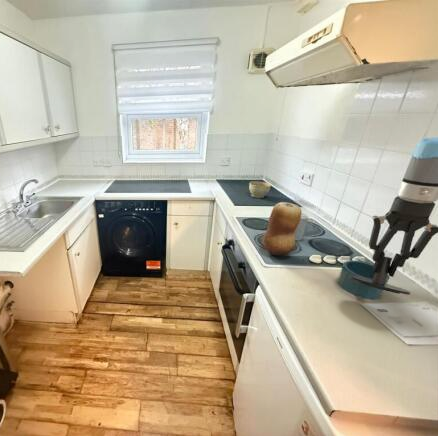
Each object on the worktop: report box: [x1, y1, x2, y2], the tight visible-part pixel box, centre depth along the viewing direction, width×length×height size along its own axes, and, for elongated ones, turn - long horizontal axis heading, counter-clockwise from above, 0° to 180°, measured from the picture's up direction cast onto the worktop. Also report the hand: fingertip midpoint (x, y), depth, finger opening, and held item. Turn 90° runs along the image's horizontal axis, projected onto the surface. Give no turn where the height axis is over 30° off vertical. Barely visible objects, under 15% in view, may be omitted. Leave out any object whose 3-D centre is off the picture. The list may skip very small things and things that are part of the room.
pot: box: [337, 259, 390, 300], centre depth 88 cm, size 13×18×8 cm
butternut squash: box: [262, 201, 303, 256], centre depth 109 cm, size 14×13×25 cm
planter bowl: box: [248, 181, 272, 199], centre depth 194 cm, size 16×16×11 cm
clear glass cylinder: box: [294, 212, 310, 241], centre depth 128 cm, size 10×10×12 cm
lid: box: [350, 255, 411, 296], centre depth 73 cm, size 14×14×10 cm
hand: (382, 272), depth 72 cm, fingers closed on lid, 3 cm apart
